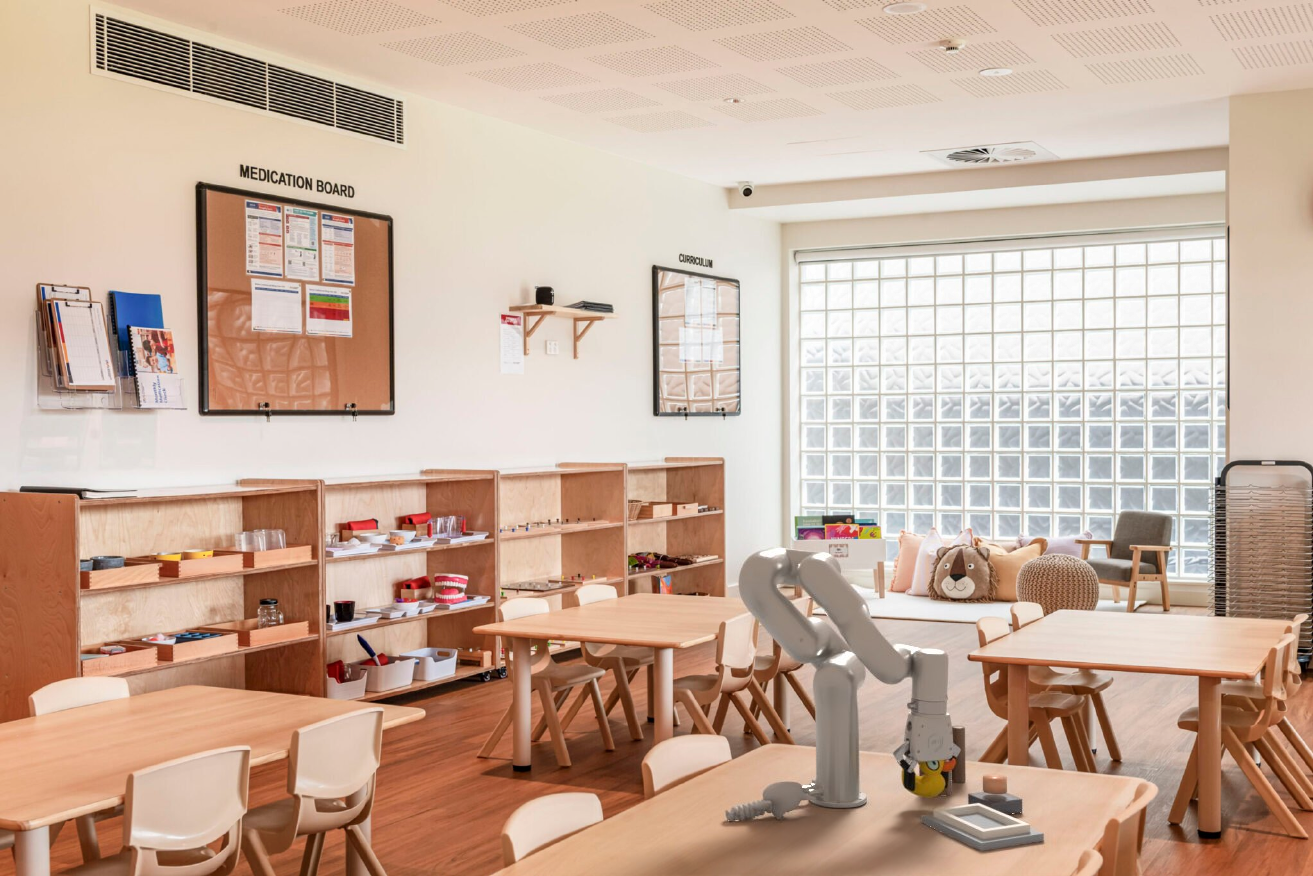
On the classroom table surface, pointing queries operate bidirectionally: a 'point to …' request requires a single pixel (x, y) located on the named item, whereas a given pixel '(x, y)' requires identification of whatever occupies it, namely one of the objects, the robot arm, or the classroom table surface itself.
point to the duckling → (931, 778)
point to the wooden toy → (959, 769)
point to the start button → (994, 784)
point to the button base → (997, 802)
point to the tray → (981, 826)
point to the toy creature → (772, 802)
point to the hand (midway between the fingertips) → (925, 787)
